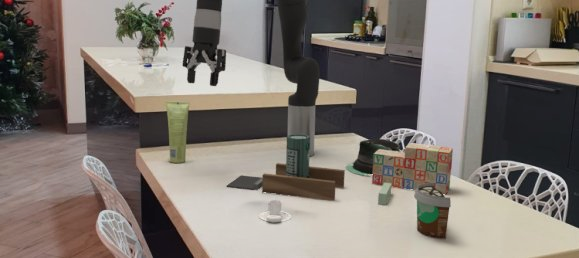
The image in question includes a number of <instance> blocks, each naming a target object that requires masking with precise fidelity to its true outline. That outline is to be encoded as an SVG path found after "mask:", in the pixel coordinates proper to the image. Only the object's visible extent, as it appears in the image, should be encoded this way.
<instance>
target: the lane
mask: <svg viewBox="0 0 579 258" xmlns="http://www.w3.org/2000/svg"><path fill="white" fill-rule="evenodd" d="M345 171H346V170H345V169H339V168H338V169H337V168H329V167H319V166H310V165H309V178H302V177H293V176H286V163H280V162H279V163H278V162H277V163H276V164H275V174H273V173H266V172H265V173H263V174H262V177H261V178H262V187H261V191H262V193H263V192H266V193H265V194H271V193H276V194H275V195H280V194H282V195H283V196H288V195H290V197H297V196H298V198H307V199H315V200H316V199H317V200H325V201H332V202H333V201H335V199H336V188H337V189H344V188H345V174H346V173H345Z"/></svg>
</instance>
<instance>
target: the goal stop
mask: <svg viewBox="0 0 579 258" xmlns="http://www.w3.org/2000/svg"><path fill="white" fill-rule="evenodd" d="M391 184H392V183H384V184H383V185H381V188H380V190H378V191H379V192H378V196H377V204H378V205H382V206H386V205H387V203H388V201H389V199H390V196H391V194H392V187H391Z"/></svg>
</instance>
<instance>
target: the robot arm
mask: <svg viewBox="0 0 579 258" xmlns="http://www.w3.org/2000/svg"><path fill="white" fill-rule="evenodd" d="M276 3H277V12H278V18H279V21H280V29H281V30H280V32H281V40H282V50H283V52H282V53H283V54H282V56H283V72H284V76H285V78H286V79H287V81H288V82H289V83H291V84H292V83H293V84H296V91H295V93H293V94H290V95H289V96H288V100H287V107H288V108H287V136H288V135H292V134H302V135H308V136H310V153H309V157H312V156H314V155H315V135H316V134H315V127H316V103H317V102H316V101H317V99H318V95H319V89H320V88H319V87H320V73H321V71H320V65H319V63H318V61H317V60H316V59H314V58H312V57H306V56H304V55H303V50H302V36H303V33H304V30H305V27H306V24H307V20H308V7H307V0H276ZM222 8H223V0H196V7H195V9H196V10H195V15H194V17H193V18H194V20H193V29H192V32H193V33H192V42H193V46H188V45H185V47H184V49H183V50H184V51H183V59H182V67H183V68H186V69H187V75H186V76H187V77H186V80H187V83H188V84H195V82H196V72H197V71H196V70H197V67H199V66H200V65H201V64H207V66H209V69H210V71H211V72H210V79H209V86H210V87H217V85H218V83H219V76H220V75H219V74H220V73H221V72H225V71H226V62H227V61H226V60H227V50H226V49H224V48H218V46H219V45H220V37H221V26H222V10H223V9H222Z"/></svg>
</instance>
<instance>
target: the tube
mask: <svg viewBox="0 0 579 258" xmlns="http://www.w3.org/2000/svg"><path fill="white" fill-rule="evenodd" d="M165 106H166V115H167V123H168V142H169V143H168V144H169V161H170V162H171V163H174V164H181V163H185V162H186V159H187V158H186V156H187V155H186V153H187V152H186V150H187V133H188V119H189V118H188V117H189V109H190V102H188V101H187V102H186V101H185V102H184V101H167V100H166V101H165Z"/></svg>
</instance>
